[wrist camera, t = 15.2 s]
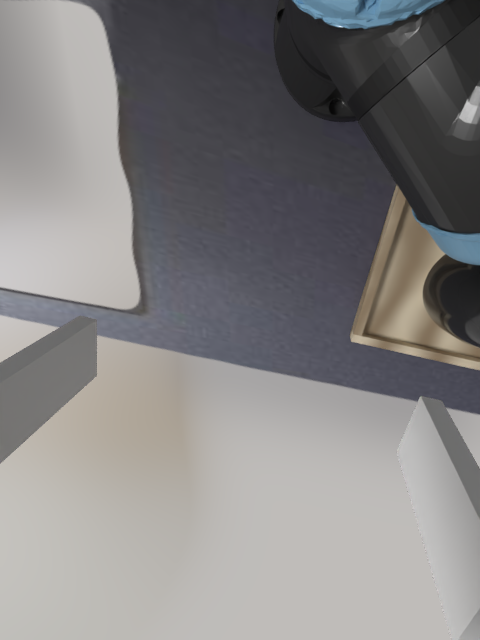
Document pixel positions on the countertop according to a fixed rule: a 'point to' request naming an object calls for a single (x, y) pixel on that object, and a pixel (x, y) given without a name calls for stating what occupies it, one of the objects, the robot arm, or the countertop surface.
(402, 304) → the birch tray
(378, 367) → the countertop surface
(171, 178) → the countertop surface
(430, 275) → the pump dispenser
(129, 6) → the countertop surface
